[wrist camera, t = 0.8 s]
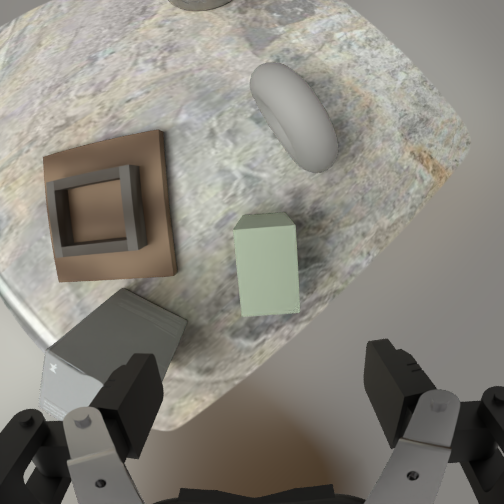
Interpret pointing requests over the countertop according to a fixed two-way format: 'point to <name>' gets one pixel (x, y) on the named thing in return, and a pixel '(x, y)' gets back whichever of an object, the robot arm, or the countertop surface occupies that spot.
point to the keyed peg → (267, 264)
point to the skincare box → (105, 350)
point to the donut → (295, 116)
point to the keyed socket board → (110, 210)
